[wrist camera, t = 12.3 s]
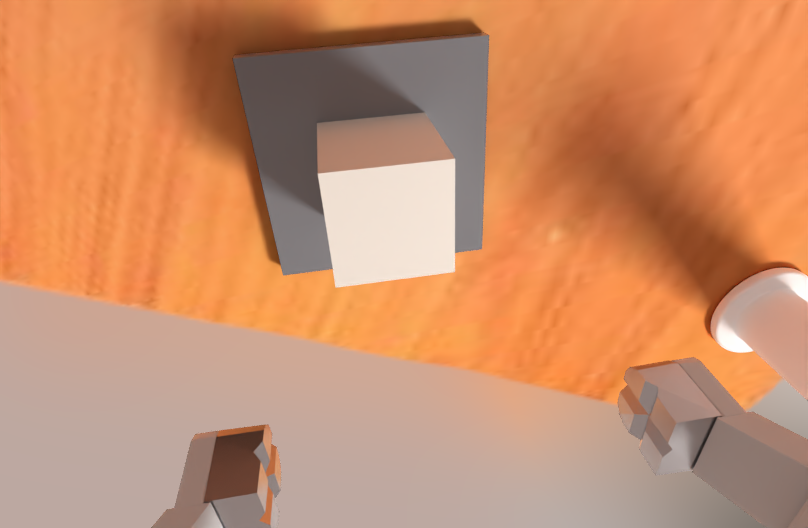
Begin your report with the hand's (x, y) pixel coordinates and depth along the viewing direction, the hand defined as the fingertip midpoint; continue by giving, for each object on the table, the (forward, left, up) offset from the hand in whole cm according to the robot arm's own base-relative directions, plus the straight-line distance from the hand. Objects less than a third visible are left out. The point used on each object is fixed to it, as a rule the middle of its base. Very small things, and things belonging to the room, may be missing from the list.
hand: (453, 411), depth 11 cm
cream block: (0, 0, -16) cm, 15 cm away
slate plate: (0, 0, -16) cm, 16 cm away
